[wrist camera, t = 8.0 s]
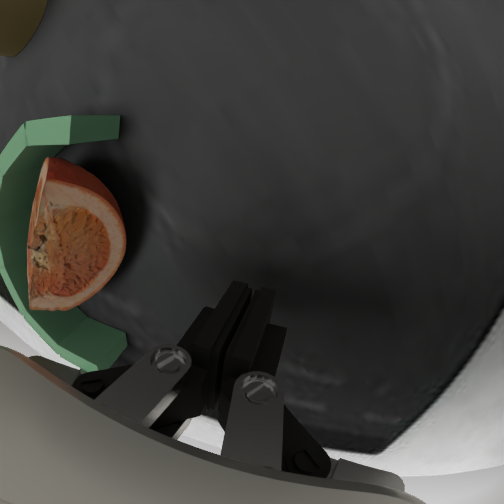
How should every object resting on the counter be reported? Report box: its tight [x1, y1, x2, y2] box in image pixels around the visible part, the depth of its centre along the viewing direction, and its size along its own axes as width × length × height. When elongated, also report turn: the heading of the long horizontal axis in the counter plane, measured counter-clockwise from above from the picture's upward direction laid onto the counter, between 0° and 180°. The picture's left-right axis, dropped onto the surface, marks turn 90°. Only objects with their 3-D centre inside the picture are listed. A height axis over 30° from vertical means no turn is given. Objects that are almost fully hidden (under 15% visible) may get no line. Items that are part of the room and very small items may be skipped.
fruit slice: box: [27, 157, 126, 311], centre depth 12 cm, size 8×7×5 cm
